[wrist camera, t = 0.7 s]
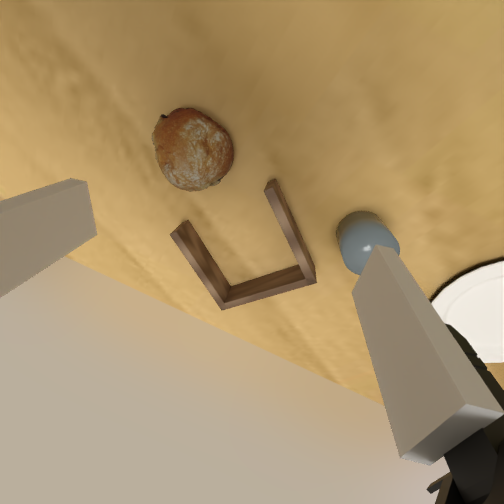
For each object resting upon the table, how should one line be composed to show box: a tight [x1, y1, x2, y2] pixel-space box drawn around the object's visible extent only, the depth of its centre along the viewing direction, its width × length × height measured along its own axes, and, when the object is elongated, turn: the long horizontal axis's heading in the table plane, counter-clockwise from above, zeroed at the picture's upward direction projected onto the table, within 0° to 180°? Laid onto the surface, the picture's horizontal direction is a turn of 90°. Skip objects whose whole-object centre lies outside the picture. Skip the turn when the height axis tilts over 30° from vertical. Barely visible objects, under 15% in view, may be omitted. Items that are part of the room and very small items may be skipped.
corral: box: [170, 179, 317, 310], centre depth 37 cm, size 15×16×4 cm
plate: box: [431, 260, 504, 363], centre depth 38 cm, size 21×21×2 cm
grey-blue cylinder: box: [336, 211, 400, 275], centre depth 33 cm, size 6×6×6 cm
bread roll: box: [152, 108, 233, 191], centre depth 32 cm, size 10×10×8 cm
